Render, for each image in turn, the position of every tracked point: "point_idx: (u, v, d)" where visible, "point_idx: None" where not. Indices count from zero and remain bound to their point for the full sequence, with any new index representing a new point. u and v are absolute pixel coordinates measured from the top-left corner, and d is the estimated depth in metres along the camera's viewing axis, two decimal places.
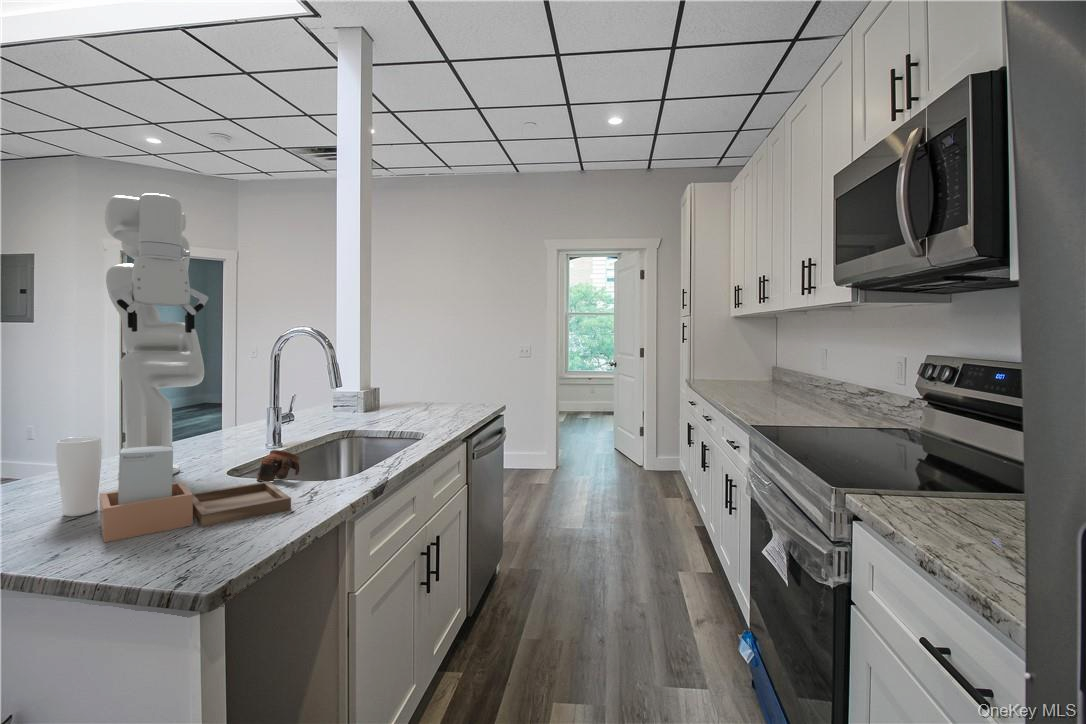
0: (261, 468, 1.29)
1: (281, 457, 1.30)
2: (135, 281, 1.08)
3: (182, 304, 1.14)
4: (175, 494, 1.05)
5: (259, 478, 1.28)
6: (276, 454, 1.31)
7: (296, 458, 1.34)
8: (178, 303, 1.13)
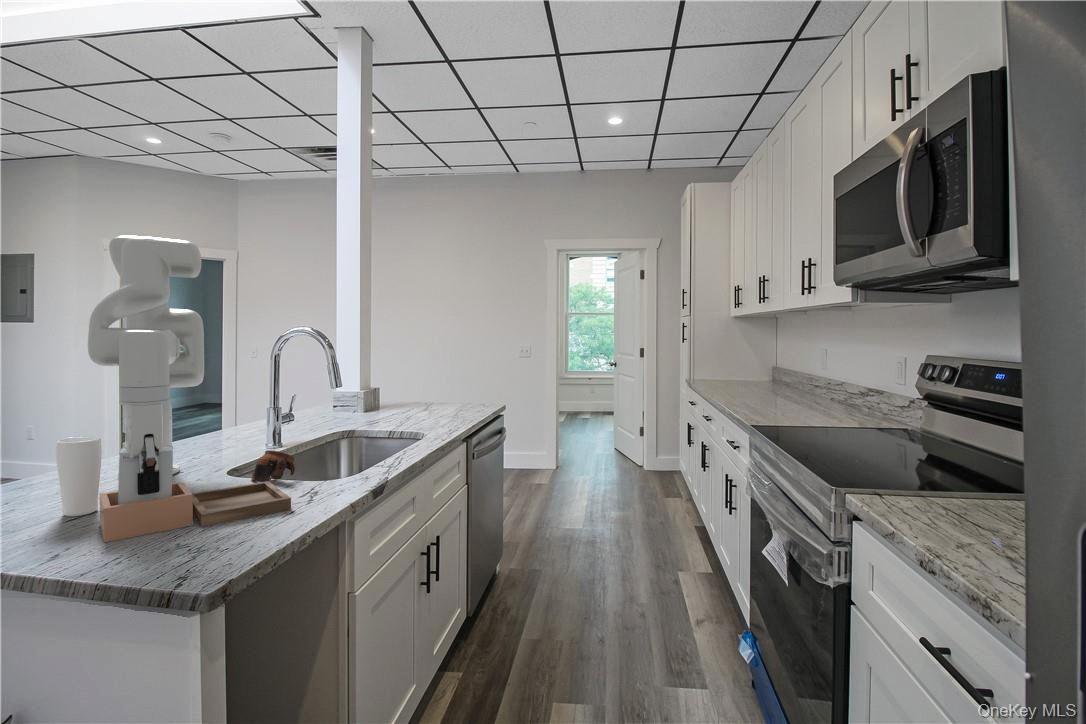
0: (256, 469, 1.28)
1: (276, 457, 1.30)
2: (161, 432, 0.96)
3: None
4: (175, 494, 1.05)
5: (254, 478, 1.28)
6: (271, 454, 1.30)
7: (291, 458, 1.33)
8: None
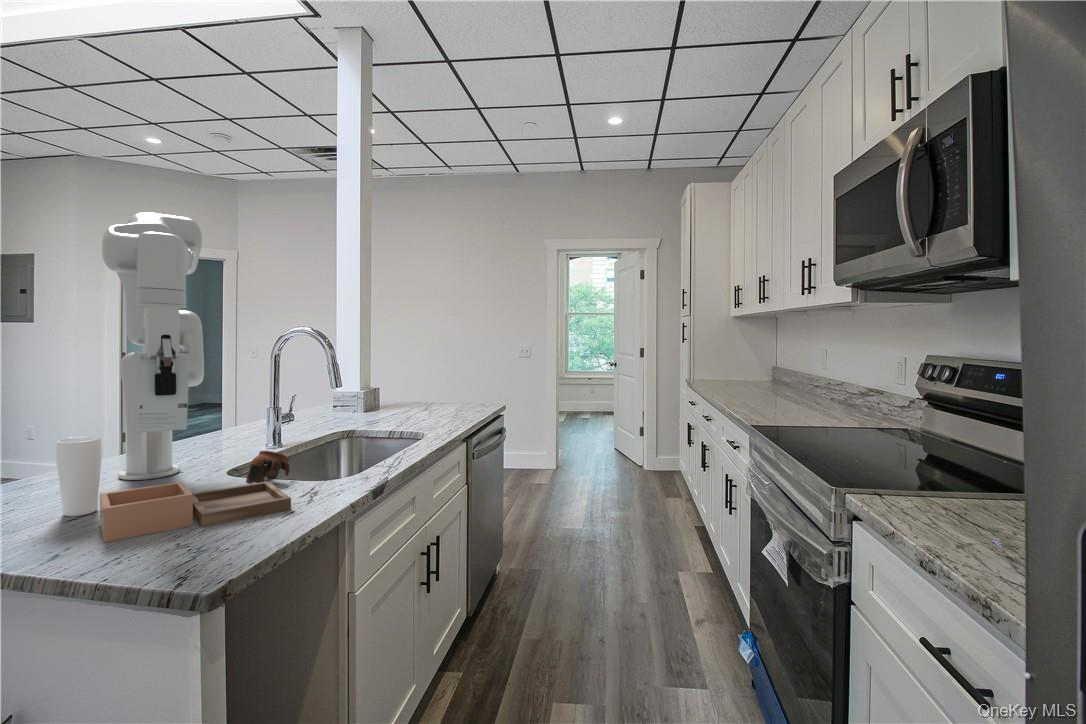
0: (250, 469, 1.28)
1: (271, 458, 1.29)
2: (178, 334, 0.97)
3: None
4: (175, 494, 1.05)
5: (248, 479, 1.27)
6: (266, 455, 1.30)
7: (286, 459, 1.33)
8: None
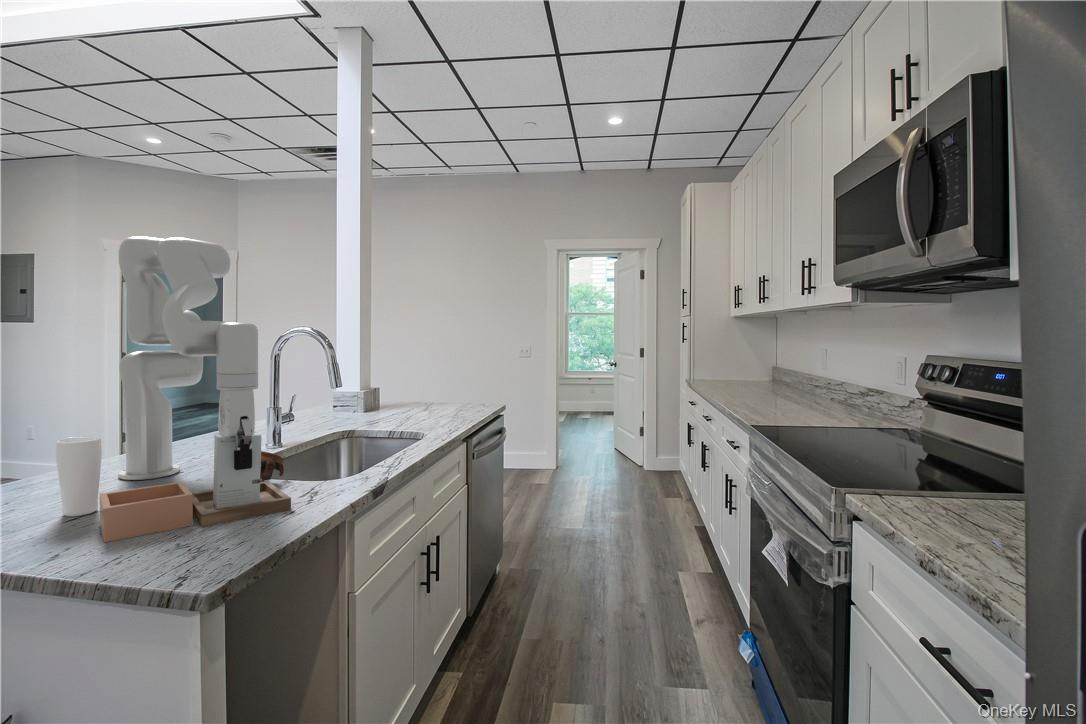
0: None
1: (265, 458, 1.29)
2: (253, 415, 1.06)
3: None
4: (175, 494, 1.05)
5: None
6: None
7: (280, 459, 1.32)
8: None
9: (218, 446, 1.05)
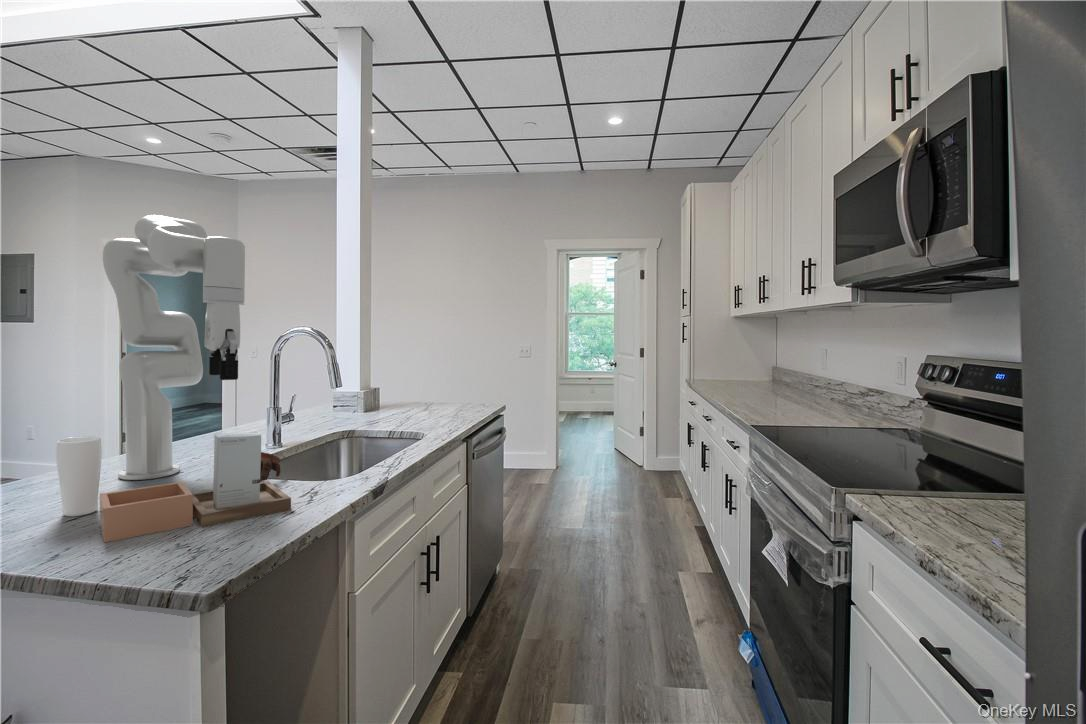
0: None
1: (262, 458, 1.28)
2: (239, 329, 1.08)
3: None
4: (175, 494, 1.05)
5: None
6: None
7: (277, 459, 1.32)
8: None
9: (218, 446, 1.05)
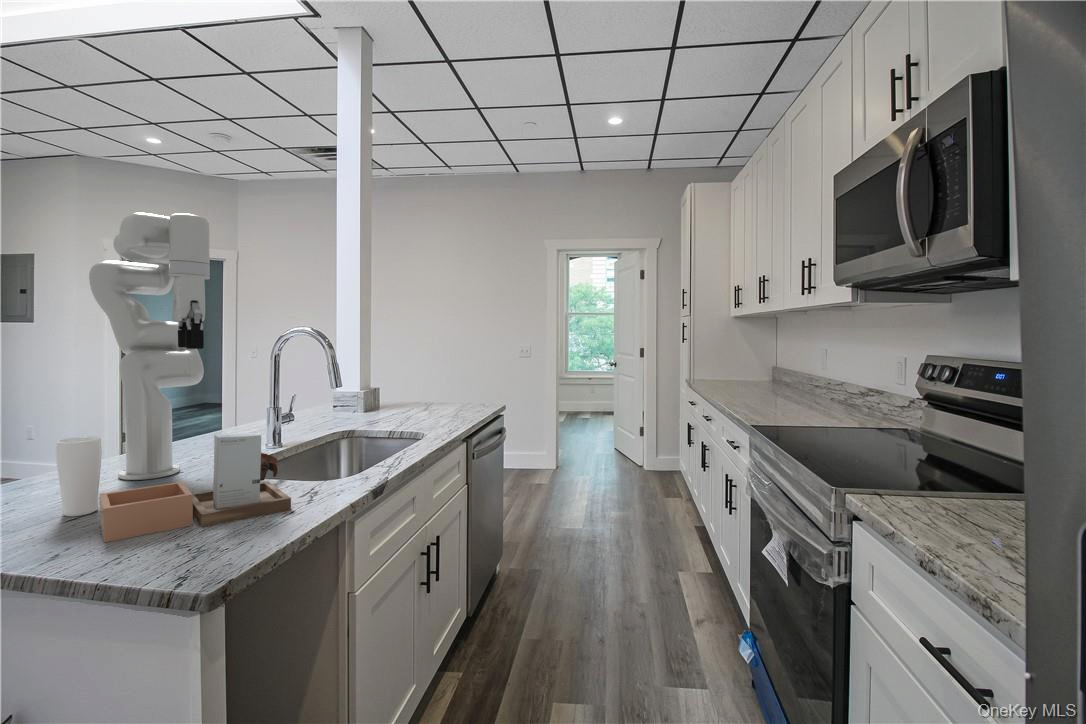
0: None
1: None
2: (204, 300, 1.14)
3: None
4: (175, 494, 1.05)
5: None
6: None
7: (274, 459, 1.31)
8: None
9: (218, 446, 1.05)
